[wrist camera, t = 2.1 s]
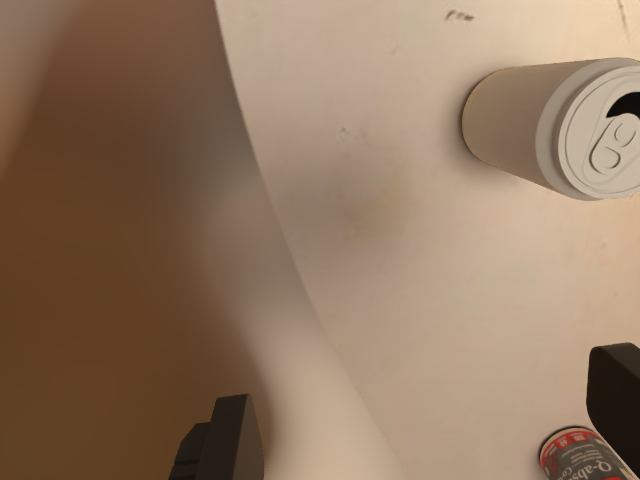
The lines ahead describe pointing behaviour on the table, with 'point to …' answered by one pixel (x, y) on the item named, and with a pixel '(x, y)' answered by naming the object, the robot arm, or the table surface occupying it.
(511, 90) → the beverage can
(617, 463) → the pill bottle
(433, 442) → the table surface
